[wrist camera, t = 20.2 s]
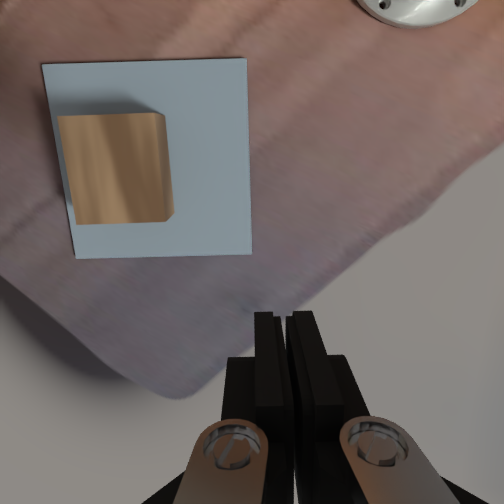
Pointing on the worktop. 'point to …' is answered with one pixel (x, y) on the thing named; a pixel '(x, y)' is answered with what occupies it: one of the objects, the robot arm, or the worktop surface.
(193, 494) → the robot arm
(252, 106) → the worktop surface
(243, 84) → the rubber mat
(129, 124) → the wooden block
